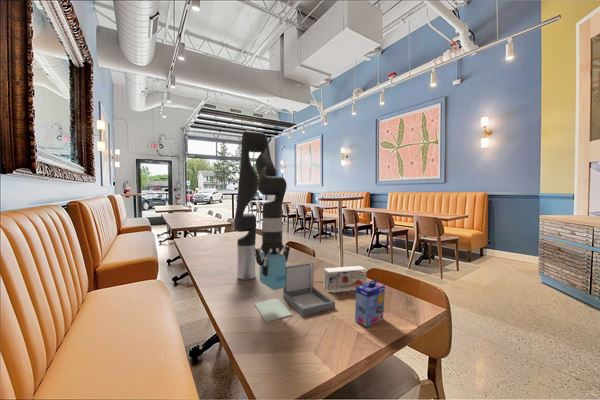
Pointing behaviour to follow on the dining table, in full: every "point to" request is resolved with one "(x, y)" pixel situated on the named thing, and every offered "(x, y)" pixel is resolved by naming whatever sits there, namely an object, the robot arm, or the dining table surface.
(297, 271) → the case
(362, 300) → the ink cartridge box
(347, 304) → the dining table surface
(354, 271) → the white printed box
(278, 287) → the blue rubber eraser
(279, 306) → the mat
